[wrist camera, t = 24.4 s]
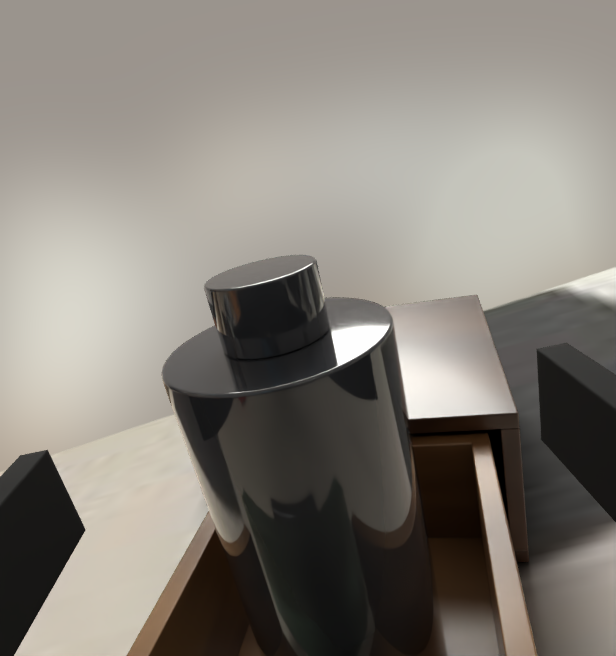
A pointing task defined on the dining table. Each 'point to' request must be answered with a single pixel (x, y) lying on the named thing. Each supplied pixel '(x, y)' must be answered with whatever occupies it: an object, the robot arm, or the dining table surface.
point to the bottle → (309, 464)
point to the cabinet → (462, 390)
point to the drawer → (447, 554)
